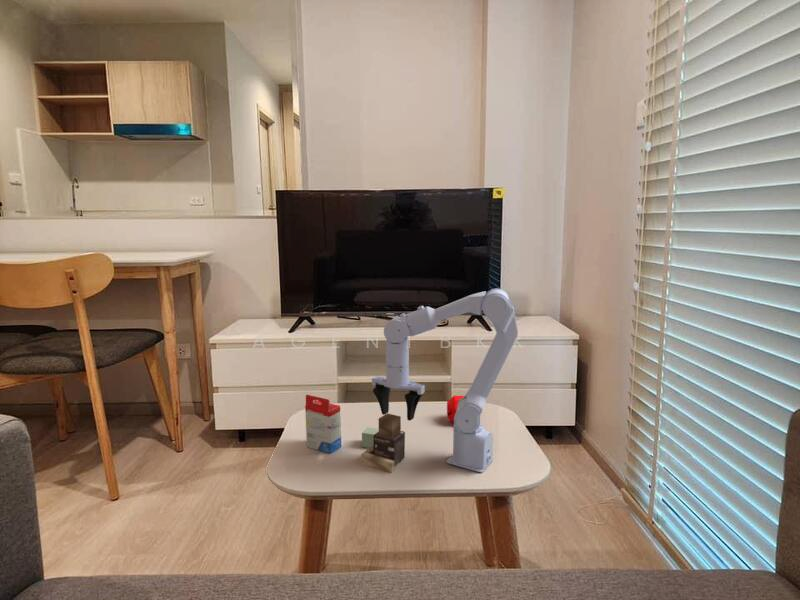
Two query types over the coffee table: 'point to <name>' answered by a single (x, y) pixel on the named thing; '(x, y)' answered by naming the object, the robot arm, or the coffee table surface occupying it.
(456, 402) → the red faceted polyhedron
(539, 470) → the coffee table surface
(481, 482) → the coffee table surface
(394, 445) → the box
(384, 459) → the corner jig
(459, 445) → the robot arm
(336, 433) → the ink box
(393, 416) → the walnut cube
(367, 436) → the block
